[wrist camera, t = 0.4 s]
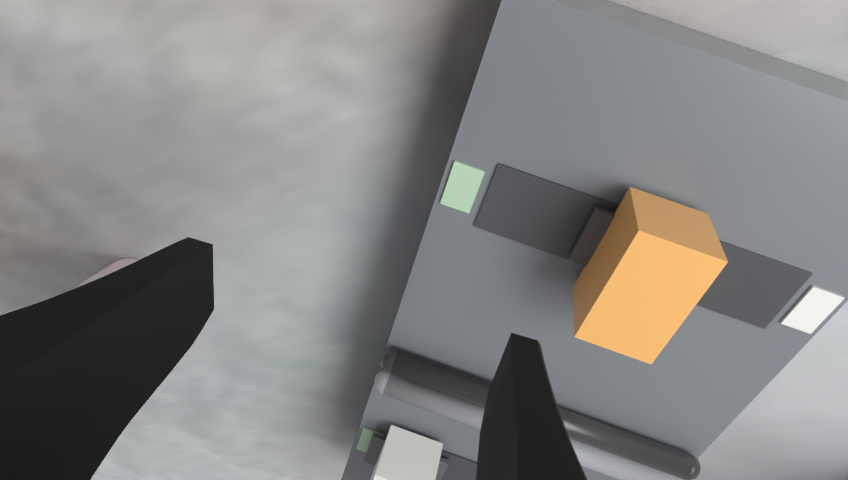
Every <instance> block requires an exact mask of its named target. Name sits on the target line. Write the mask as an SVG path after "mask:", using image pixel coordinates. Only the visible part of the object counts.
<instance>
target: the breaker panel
mask: <svg viewBox="0 0 848 480" xmlns="http://www.w3.org/2000/svg"><path fill="white" fill-rule="evenodd" d="M629 187H633V188H635V189H638V190H641V191H644V192H647V193H650V194H653V195H656V196H658V197H661V198H664V199H667V200H670V201H673V202H676V203H678V204H681V205H684V206H687V207H690V208H693V209H696V210H699V211H701V212H704V213H707V214H708V215H709V217H710V220H711V222H712V224H713V227H714V229H715V232H716V234H717V236H718V239H719V241H720V244H721V246H722V248H723V251H724V253H725V256H726V258H727V260H728V263H727V264H726V265H725V267H724V268H723V269H722V271H721V272H720V273H719V275H718V276H717V277H716V279H715V280H714V281H713V283H712V284H711V285H710V287H709V288H708V289H707V291H706V292H705V294H704V295H703V296H702V298H701V299H700V300H699V302H698V303H697V304H696V306H695V307H694V308H693V310H692V311H691V312H690V314H689V315H688V316H687V318H686V319H685V320H684V322H683V323H682V324H681V326H680V327H679V328H678V330H677V331H676V332H675V334H674V335H673V336H672V338H671V339H670V340H669V342H668V343H667V344H666V346H665V347H664V348H663V350H662V351H661V352H660V354H659V355H658V356H657V358H656V359H655V360H654V362H653V363H652V364H648V363H646V362H643V361H640V360H637V359H634V358H632V357H629V356H626V355H623V354H620V353H617V352H615V351H612V350H609V349H606V348H603V347H601V346H598V345H595V344H592V343H589V342H587V341H584V340H581V339H578V338H575V337H574V290H573V287H574V285H575V283H576V281H577V280H578V278H579V276H580V274H581V272H582V271H583V269H584V267H585V266H583V265H580V264H577V263H575V262H572V261H569V255H570V253H571V252H572V250H573V248H574V246H575V244H576V242H577V240H578V238H579V237H580V235H581V233H582V231H583V229H584V227H585V225H586V223H587V222H588V220H589V218H590V216H591V214H592V212H593V210H594V208H595V207H598V208H601V209H603V210H606V211H609V212H612V213H615V212H616V210H617V208H618V207H619V205H620V203H621V201H622V200H623V198H624V196H625V194H626V192H627V191H628V189H629ZM847 301H848V82H845V81H842V80H839V79H836V78H833V77H830V76H827V75H824V74H821V73H818V72H815V71H813V70H810V69H807V68H804V67H801V66H798V65H795V64H792V63H789V62H786V61H783V60H780V59H777V58H774V57H772V56H769V55H766V54H763V53H760V52H757V51H754V50H751V49H748V48H745V47H742V46H739V45H736V44H733V43H731V42H728V41H725V40H722V39H719V38H716V37H713V36H710V35H707V34H704V33H701V32H698V31H695V30H692V29H690V28H687V27H684V26H681V25H678V24H675V23H672V22H669V21H666V20H663V19H660V18H657V17H654V16H651V15H649V14H646V13H643V12H640V11H637V10H634V9H631V8H628V7H625V6H622V5H619V4H616V3H613V2H610V1H608V0H501V3H500V6H499V9H498V12H497V15H496V18H495V21H494V24H493V27H492V30H491V33H490V36H489V39H488V42H487V45H486V48H485V51H484V54H483V57H482V60H481V63H480V66H479V69H478V72H477V75H476V78H475V81H474V84H473V87H472V90H471V93H470V96H469V99H468V102H467V105H466V108H465V111H464V114H463V117H462V120H461V123H460V126H459V129H458V132H457V135H456V138H455V141H454V144H453V147H452V150H451V153H450V156H449V159H448V162H447V165H446V168H445V171H444V174H443V177H442V180H441V183H440V186H439V189H438V192H437V195H436V198H435V201H434V204H433V207H432V210H431V213H430V216H429V219H428V222H427V225H426V228H425V231H424V234H423V237H422V240H421V243H420V246H419V249H418V252H417V255H416V258H415V261H414V264H413V267H412V270H411V273H410V276H409V279H408V282H407V285H406V288H405V291H404V294H403V297H402V300H401V303H400V306H399V309H398V312H397V315H396V318H395V321H394V324H393V327H392V330H391V333H390V336H389V339H388V342H387V345H386V348H385V351H384V354H383V356H382V359H381V363H380V366H379V369H378V372H377V375H376V377H375V380H374V384H373V387H372V390H371V393H370V396H369V399H368V402H367V405H366V408H365V411H364V414H363V417H362V420H361V423H360V426H359V429H358V432H357V435H356V438H355V441H354V444H353V447H352V450H351V453H350V456H349V459H348V462H347V465H346V468H345V471H344V474H343V477H342V480H370V479H371V476H372V473H373V470H374V468H375V466H374V465H372V464H369V463H366V462H363V461H364V458H365V455H366V452H367V449H368V447H369V444H370V441H371V438H372V436H373V433H376V434H379V435H382V436H384V437H387V434H388V432H389V429H390V426H391V425H393V426H396V427H399V428H402V429H404V430H407V431H410V432H413V433H415V434H418V435H421V436H424V437H426V438H429V439H432V440H435V441H438V442H440V443H443V447H442V452H441V456H440V457H442V458H445V459H448V460H450V462H449V465H448V467H447V469H446V471H445V473H444V475H443V477H442V479H441V480H476V473H477V461H478V449H479V438H480V430H481V425H482V420H483V414H484V409H485V404H486V399H487V395H488V391H489V388H490V386H491V383H492V381H493V378H494V376H495V373H496V371H497V368H498V365H499V363H500V360H501V358H502V355H503V353H504V350H505V348H506V345H507V343H508V340H509V338H510V335H511V333H514V334H518V335H521V336H525V337H528V338H531V339H535V340H538V342H539V343H540V345H541V349H542V353H543V358H544V362H545V366H546V369H547V373H548V377H549V380H550V383H551V387H552V390H553V393H554V397H555V400H556V403H557V405H558V408H559V411H560V414H561V417H562V420H563V422H564V425H565V428H566V431H567V433H568V436H569V438H570V441H571V443H572V446H573V448H574V450H575V453H576V455H577V457H578V460H579V462H580V464H581V467H582V469H583V471H584V473H585V475H586V477H587V480H681V479H685V480H692V479H694V478H696V477H697V476H698V475H699V473H700V464H699V461H698V460H697V458H698V457H699V456H700V455H701V454H702V453H703V451H704V450H705V449H706V448H707V447H708V446H709V445H710V444H711V443H712V442H713V441H714V440H715V439H716V438H717V437H718V436H719V435H720V434H721V433H722V432H723V431H724V429H725V428H726V427H727V426H728V425H729V424H730V423H731V422H732V421H733V420H734V419H735V418H736V417H737V416H738V415H739V414H740V413H741V412H742V411H743V410H744V409H745V407H746V406H747V405H748V404H749V403H750V402H751V401H752V400H753V399H754V398H755V397H756V396H757V395H758V394H759V393H760V392H761V391H762V390H763V389H764V388H765V387H766V385H767V384H768V383H769V382H770V381H771V380H772V379H773V378H774V377H775V376H776V375H777V374H778V373H779V372H780V371H781V370H782V369H783V368H784V367H785V366H786V365H787V363H788V362H789V361H790V360H791V359H792V358H793V357H794V356H795V355H796V354H797V353H798V352H799V351H800V350H801V349H802V348H803V347H804V346H805V345H806V344H807V343H808V341H809V340H810V339H811V338H812V337H813V336H814V335H815V334H816V333H817V332H818V331H819V330H820V329H821V328H822V327H823V326H824V325H825V324H826V323H827V322H828V321H829V319H830V318H831V317H832V316H833V315H834V314H835V313H836V312H837V311H838V310H839V309H840V308H841V307H842V306H843V305H844V304H845V303H846V302H847ZM680 478H681V479H680Z"/></svg>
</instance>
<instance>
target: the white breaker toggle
mask: <svg viewBox="0 0 848 480" xmlns="http://www.w3.org/2000/svg"><path fill="white" fill-rule="evenodd" d="M442 447H443V443H440V442H438V441H435V440H432V439H429V438H426V437H424V436H421V435H418V434H415V433H413V432H410V431H407V430H404V429H402V428H399V427H396V426H393V425H391V426H390V429H389V432H388V434H387V437H384V436H382V435H379V434H376V433H373V436H372V438H371V441H370V444H369V447H368V449H367V452H366V455H365V458H364V461H363V462H366V463H369V464H372V465H374V466H375V468H374V470H373V473H372V476H371V479H370V480H441V479H442V477H443V475H444V473H445V471H446V469H447V467H448V465H449V462H450V460H448V459H445V458H442V457H440V456H441V452H442Z"/></svg>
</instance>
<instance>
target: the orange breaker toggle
mask: <svg viewBox="0 0 848 480" xmlns="http://www.w3.org/2000/svg"><path fill="white" fill-rule="evenodd" d="M569 261H572V262H575V263H577V264H580V265H583V266H585V267H584V269H583V271H582V272H581V274H580V276H579V278H578V280H577V281H576V283H575V285H574V287H573V290H574V337H575V338H578V339H581V340H584V341H587V342H589V343H592V344H595V345H598V346H601V347H603V348H606V349H609V350H612V351H615V352H617V353H620V354H623V355H626V356H629V357H632V358H634V359H637V360H640V361H643V362H646V363H648V364H652V363H653V362H654V360H655V359H656V358H657V356H658V355H659V354H660V352H661V351H662V350H663V348H664V347H665V346H666V344H667V343H668V342H669V340H670V339H671V338H672V336H673V335H674V334H675V332H676V331H677V330H678V328H679V327H680V326H681V324H682V323H683V322H684V320H685V319H686V318H687V316H688V315H689V314H690V312H691V311H692V310H693V308H694V307H695V306H696V304H697V303H698V302H699V300H700V299H701V298H702V296H703V295H704V294H705V292H706V291H707V289H708V288H709V287H710V285H711V284H712V283H713V281H714V280H715V279H716V277H717V276H718V275H719V273H720V272H721V271H722V269H723V268H724V267H725V265H726V264H727V263H728V260H727V258H726V256H725V253H724V251H723V248H722V246H721V244H720V241H719V239H718V236H717V234H716V232H715V229H714V227H713V224H712V222H711V220H710V217H709V215H708V214H707V213H704V212H701V211H699V210H696V209H693V208H690V207H687V206H684V205H681V204H678V203H676V202H673V201H670V200H667V199H664V198H661V197H658V196H656V195H653V194H650V193H647V192H644V191H641V190H638V189H635V188H633V187H629V189H628V191H627V192H626V194H625V196H624V198H623V200H622V201H621V203H620V205H619V207H618V208H617V210H616V212H615V213H612V212H609V211H606V210H603V209H601V208H598V207H595V208H594V210H593V212H592V214H591V216H590V218H589V220H588V222H587V223H586V225H585V227H584V229H583V231H582V233H581V235H580V237H579V238H578V240H577V242H576V244H575V246H574V248H573V250H572V252H571V253H570V255H569Z"/></svg>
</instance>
